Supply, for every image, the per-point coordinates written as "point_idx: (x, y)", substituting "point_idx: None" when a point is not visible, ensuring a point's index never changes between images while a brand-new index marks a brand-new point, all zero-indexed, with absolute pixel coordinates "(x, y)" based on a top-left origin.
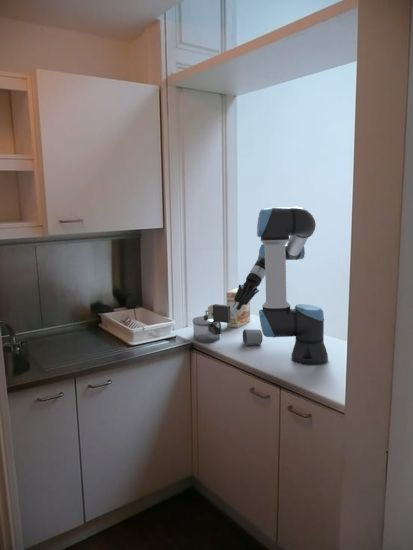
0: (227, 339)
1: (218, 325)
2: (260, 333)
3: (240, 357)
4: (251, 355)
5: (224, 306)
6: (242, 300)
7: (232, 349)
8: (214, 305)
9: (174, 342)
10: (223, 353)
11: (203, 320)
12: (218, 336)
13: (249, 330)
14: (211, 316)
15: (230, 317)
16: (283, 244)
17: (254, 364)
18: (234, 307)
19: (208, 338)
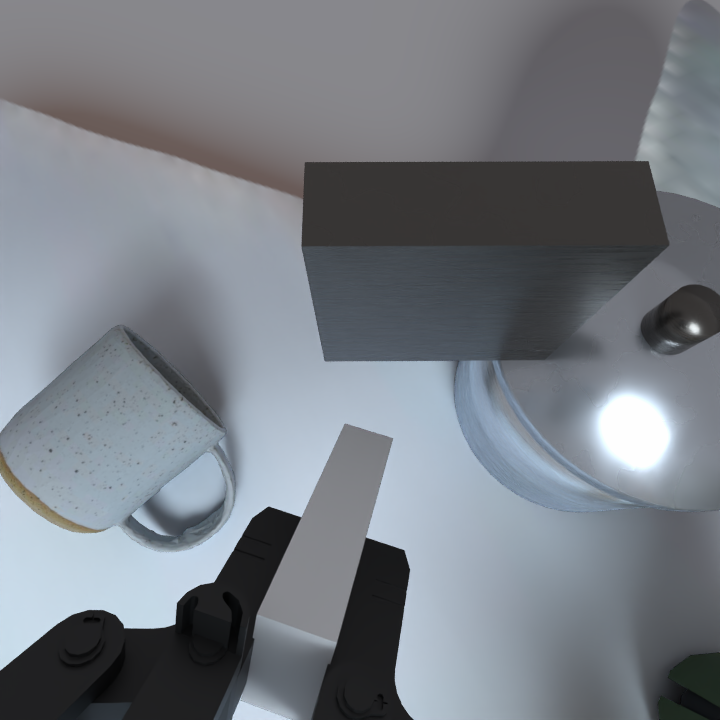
0: (404, 468)
1: (491, 382)
2: (2, 430)
3: (134, 182)
4: (77, 237)
5: (377, 162)
6: (138, 701)
7: (247, 280)
8: (605, 163)
9: None
10: (266, 195)
11: (653, 278)
12: (463, 404)
13: (95, 372)
14: (717, 484)
15: (321, 338)
16: None
17: (16, 129)
18: (340, 502)
19: None
